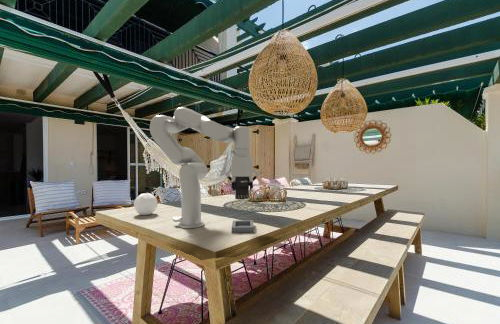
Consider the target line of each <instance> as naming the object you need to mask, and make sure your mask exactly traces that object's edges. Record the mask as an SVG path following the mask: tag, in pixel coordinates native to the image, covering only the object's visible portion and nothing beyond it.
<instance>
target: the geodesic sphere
mask: <svg viewBox="0 0 500 324" xmlns="http://www.w3.org/2000/svg"><path fill="white" fill-rule="evenodd" d="M133 207H134V210H135V212H136V213H137V214H139V215H142V216H148V215H152V214H153V213H154V212H155V211H156V210H157V207H158V199H157V198H156V197H155V195H154V194H153V193H152V192H150V193H149V192H145V193H140V194H139V195H138V196H137V197H136V198H135V200H134V201H133Z"/></svg>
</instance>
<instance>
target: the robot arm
mask: <svg viewBox="0 0 500 324" xmlns="http://www.w3.org/2000/svg"><path fill="white" fill-rule="evenodd" d="M187 129H192V130H194V131H196V132H198V133H200V134H202V135H204V136H205V137H208V138H211V139H212V140H215V141H217V142H220V143H225V144H226V143H227V144H231V143H233V149H232V150H230V154H233V155H232V156H231V166H230V167H231V168H230V169H229V170H228V171H226V172H225V173H224V176H226V178H227V179H228V180H229V181H230V182H231V189H232V191H233V192H235V178H236V177H249V179H250V186H249V192H251V191H252V189H254V182H255V180H256V179H257V178H258V177H259V175H260V172H259V171H257V170H256V169H254V167H253V166H254V164H253V156H252V155H251V146H250V145H251V129H250V128H249V127H248V126H241V125H240V126H236V127H229V126H226V125H223V124H221V123H218V122H216V121H214V120H212V119H209V118H208V116H206V115H204V114H202V113H199V112H197V111H195V110H193V109H192V108H191V109H190V108H188V107H185V106H181V107H178V108H176V109H175V110H174V112H173V117H172V116H169V115H168V116H167V115H164V114H160V115H159V114H158V115H155V116H153V117H152V118H151V120H150V124H149V132H150V135H151V137H152V139H153V141H154V142H155V143H156V144H157V145H158V146H159V147H160V149H161V150H162V152H163V153H164V154H165V156H166V157H167V158H168V160H170V162H171V163H172V164H173V165H174V166H181V167H180V168H179V172H178V176H179V180H180V182H179V183H180V194H181V195H180V196H181V197H180V201H181V203H180V204H181V216H179V217H177V216H176V217H175V216H173V219H172V221H173V222H176V223H177V222H178V227H179V228H181V229H197V228H201V227H203V226H204V225H205V221H203V220H202V201H201V200H202V198H201V197H202V194H201V193H202V192H201V191H202V190H201V184H200V181H202V180H204V179H205V178H206V177H207V175H208V172H209V171H208V166H207V165H206V164H205V162H204V161H203V160H202V159H201V157H200V156H199V155H198V154H197V153H196V152H195V151H194V150H193V149H192V148H190V147H188V146H182V145H181V144H180V143H179V142H178V141H177V140H176V138H175V137H174V136H173V135H171V134H177V133H180V132H182V131H185V130H187ZM229 174H231V176H232V177H231V176H230V175H229ZM253 175H254V176H253Z"/></svg>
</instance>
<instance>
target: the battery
mask: <svg viewBox="0 0 500 324" xmlns="http://www.w3.org/2000/svg"><path fill="white" fill-rule="evenodd" d="M234 182H235V190H234V199H235V200H249V198H250V179H249V177H236V178H235V179H234Z"/></svg>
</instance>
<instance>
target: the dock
mask: <svg viewBox="0 0 500 324" xmlns="http://www.w3.org/2000/svg"><path fill="white" fill-rule="evenodd" d="M254 233H255V227H254V220H253V219H251V220H248V219H242V220H240V219H239V220H232V224H231V234H254Z"/></svg>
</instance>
